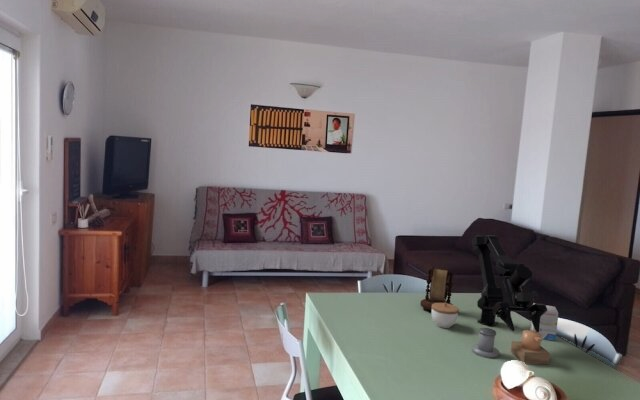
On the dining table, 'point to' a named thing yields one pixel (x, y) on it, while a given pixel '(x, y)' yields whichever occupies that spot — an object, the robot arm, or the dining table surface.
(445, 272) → the scroll
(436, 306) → the lidded jar
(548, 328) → the ink box
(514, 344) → the stand
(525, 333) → the cap
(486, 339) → the grey pedestal post
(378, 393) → the dining table surface
